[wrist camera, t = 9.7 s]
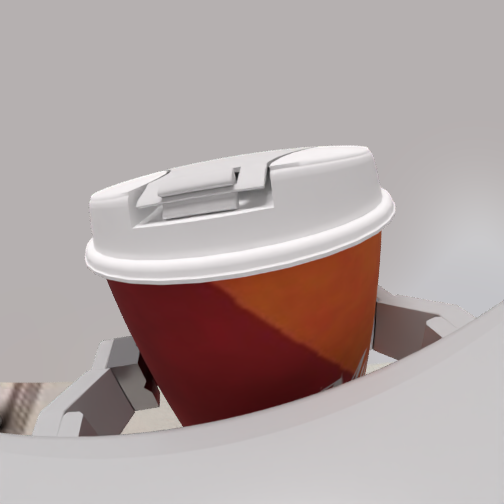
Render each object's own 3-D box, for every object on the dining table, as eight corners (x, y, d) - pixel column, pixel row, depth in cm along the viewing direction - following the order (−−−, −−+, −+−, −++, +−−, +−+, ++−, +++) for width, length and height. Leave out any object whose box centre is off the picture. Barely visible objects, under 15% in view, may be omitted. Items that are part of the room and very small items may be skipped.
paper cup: (368, 524, 8) (470, 156, 3) (195, 528, 9) (-2, 230, 4) (349, 405, 15) (346, 141, 10) (219, 414, 16) (150, 170, 11)
